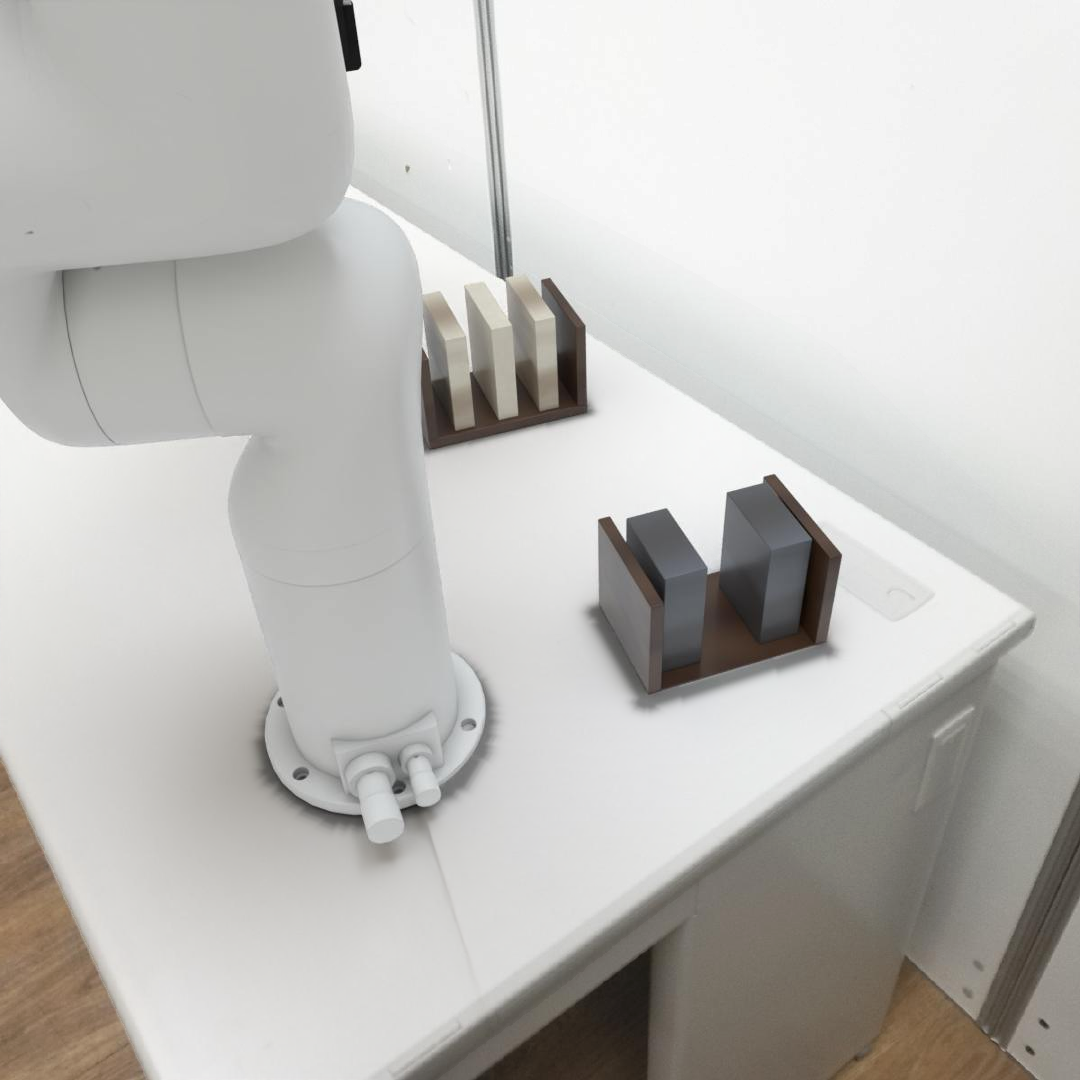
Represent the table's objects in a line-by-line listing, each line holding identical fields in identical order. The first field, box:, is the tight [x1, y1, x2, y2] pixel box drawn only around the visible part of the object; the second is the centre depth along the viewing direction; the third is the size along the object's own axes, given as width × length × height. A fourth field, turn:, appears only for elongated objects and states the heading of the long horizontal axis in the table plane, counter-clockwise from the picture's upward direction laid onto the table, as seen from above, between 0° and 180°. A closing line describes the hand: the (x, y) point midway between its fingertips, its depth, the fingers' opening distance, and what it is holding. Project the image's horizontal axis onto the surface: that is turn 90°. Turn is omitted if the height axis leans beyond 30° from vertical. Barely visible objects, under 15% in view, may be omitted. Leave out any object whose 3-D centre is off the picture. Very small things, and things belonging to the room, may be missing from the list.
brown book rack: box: [421, 273, 588, 450], centre depth 86 cm, size 8×13×9 cm, turn 109°
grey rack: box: [597, 473, 843, 695], centre depth 66 cm, size 8×12×8 cm
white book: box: [463, 281, 518, 420], centre depth 86 cm, size 7×2×8 cm, turn 19°
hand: (323, 49), depth 75 cm, fingers open, 9 cm apart
